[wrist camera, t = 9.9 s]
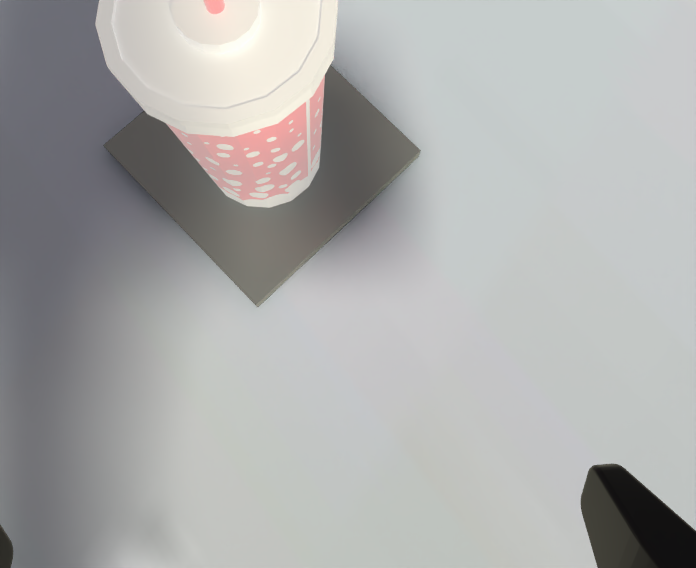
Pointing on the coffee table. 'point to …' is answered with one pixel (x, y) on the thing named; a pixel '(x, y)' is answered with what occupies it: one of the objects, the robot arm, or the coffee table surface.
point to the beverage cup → (230, 83)
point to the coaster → (281, 220)
